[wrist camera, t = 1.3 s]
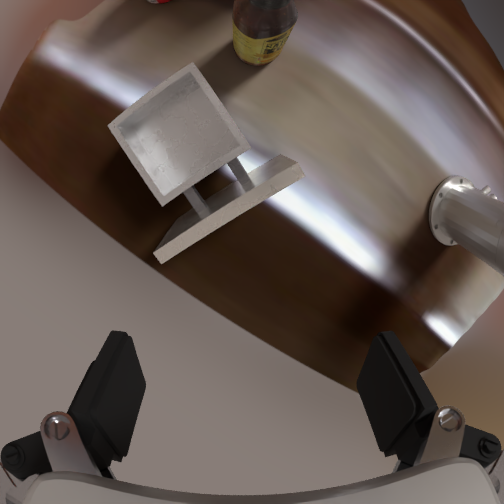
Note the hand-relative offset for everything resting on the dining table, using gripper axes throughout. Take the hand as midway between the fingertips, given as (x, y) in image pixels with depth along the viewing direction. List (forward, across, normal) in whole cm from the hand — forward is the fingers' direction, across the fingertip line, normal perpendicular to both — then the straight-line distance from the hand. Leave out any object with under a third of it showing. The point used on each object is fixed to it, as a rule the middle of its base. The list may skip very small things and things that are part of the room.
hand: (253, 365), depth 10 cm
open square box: (+31, +6, -6) cm, 32 cm away
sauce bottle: (+31, -1, -21) cm, 37 cm away
